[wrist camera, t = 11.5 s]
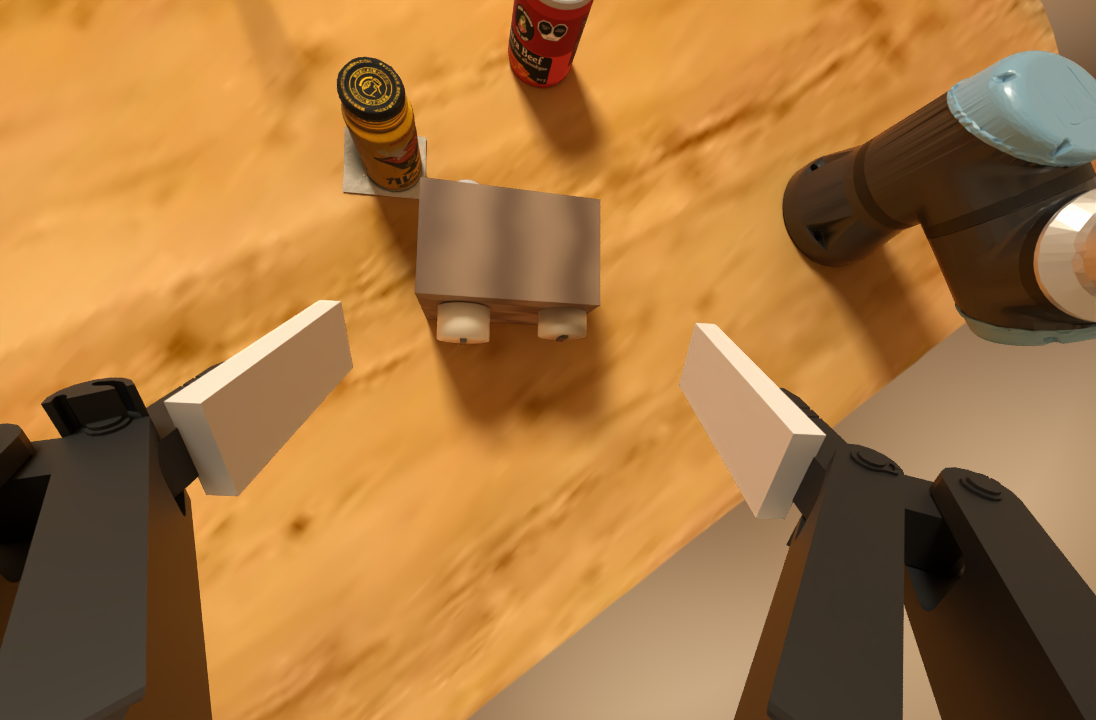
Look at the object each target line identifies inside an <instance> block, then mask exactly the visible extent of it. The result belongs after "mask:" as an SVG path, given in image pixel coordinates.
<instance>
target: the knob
mask: <svg viewBox="0 0 1096 720" xmlns="http://www.w3.org/2000/svg"><path fill="white" fill-rule="evenodd" d="M458 182H465V183H473V184H478V183H477V182H475V181H472V180H460V181H458ZM489 332H490V308H489V307H487V306H484V305H480V304H475V303H465V302H450V303H443V304H440V305H438V317H437V340H440V341H444V342H451V343H460V345H466V343H468V344H474V343H486V342H489Z"/></svg>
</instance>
